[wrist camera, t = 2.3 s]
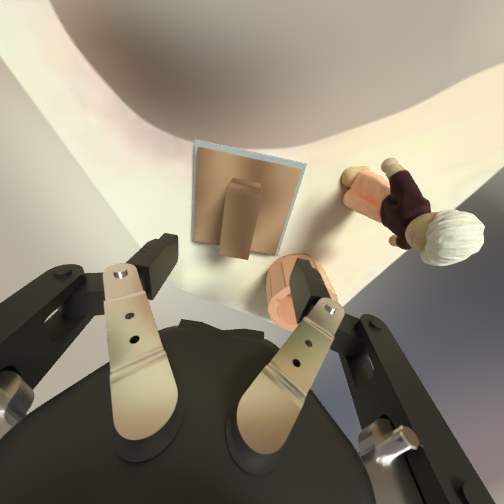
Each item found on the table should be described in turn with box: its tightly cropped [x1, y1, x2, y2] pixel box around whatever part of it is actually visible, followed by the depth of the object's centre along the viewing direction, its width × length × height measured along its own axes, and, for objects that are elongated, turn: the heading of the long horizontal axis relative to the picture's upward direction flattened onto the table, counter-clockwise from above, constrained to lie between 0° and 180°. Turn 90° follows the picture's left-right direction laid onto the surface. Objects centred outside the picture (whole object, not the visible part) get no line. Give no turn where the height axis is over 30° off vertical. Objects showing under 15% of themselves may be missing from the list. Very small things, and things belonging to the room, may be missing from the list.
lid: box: [194, 147, 302, 260], centre depth 19 cm, size 10×10×6 cm
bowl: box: [266, 254, 338, 330], centre depth 25 cm, size 8×8×6 cm
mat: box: [192, 139, 307, 256], centre depth 21 cm, size 11×11×1 cm
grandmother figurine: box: [342, 158, 485, 266], centre depth 15 cm, size 8×4×13 cm, turn 36°
